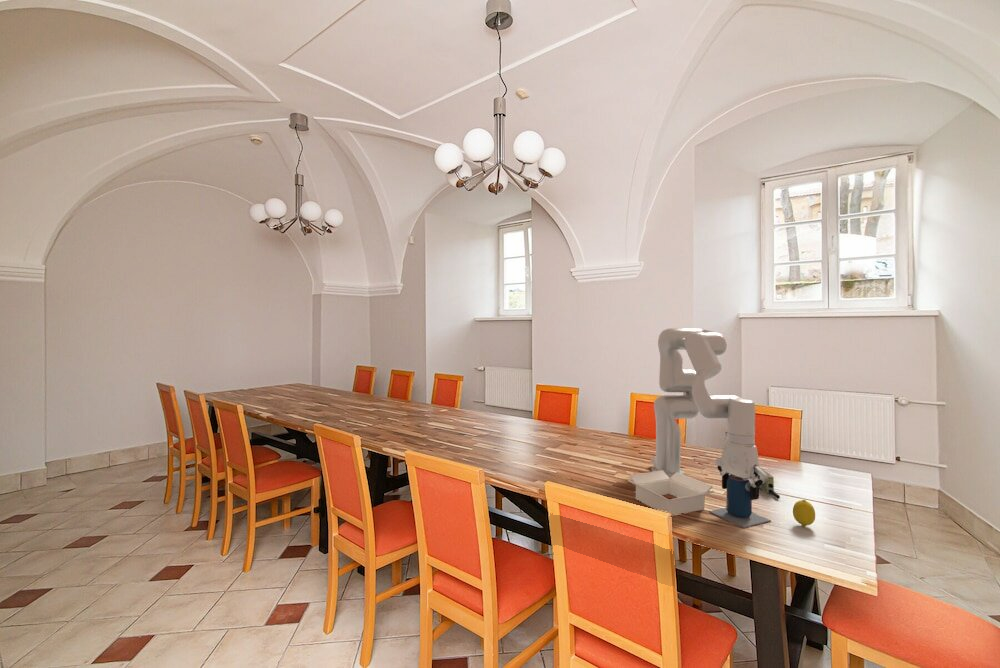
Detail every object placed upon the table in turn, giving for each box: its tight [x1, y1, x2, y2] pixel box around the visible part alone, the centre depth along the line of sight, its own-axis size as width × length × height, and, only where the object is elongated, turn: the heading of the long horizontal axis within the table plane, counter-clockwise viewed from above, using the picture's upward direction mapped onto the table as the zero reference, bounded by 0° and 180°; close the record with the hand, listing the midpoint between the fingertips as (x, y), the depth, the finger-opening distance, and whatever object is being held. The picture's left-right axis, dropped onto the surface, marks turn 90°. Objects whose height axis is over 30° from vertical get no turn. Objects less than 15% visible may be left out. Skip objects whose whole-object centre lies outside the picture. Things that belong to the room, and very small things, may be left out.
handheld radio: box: [753, 466, 781, 499], centre depth 163 cm, size 7×3×25 cm
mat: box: [709, 507, 772, 529], centre depth 136 cm, size 12×12×1 cm
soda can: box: [725, 474, 753, 519], centre depth 137 cm, size 7×7×12 cm
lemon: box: [792, 499, 816, 527], centre depth 130 cm, size 6×6×8 cm
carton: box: [627, 470, 715, 516], centre depth 146 cm, size 22×22×7 cm
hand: (739, 493), depth 136 cm, fingers open, 9 cm apart
